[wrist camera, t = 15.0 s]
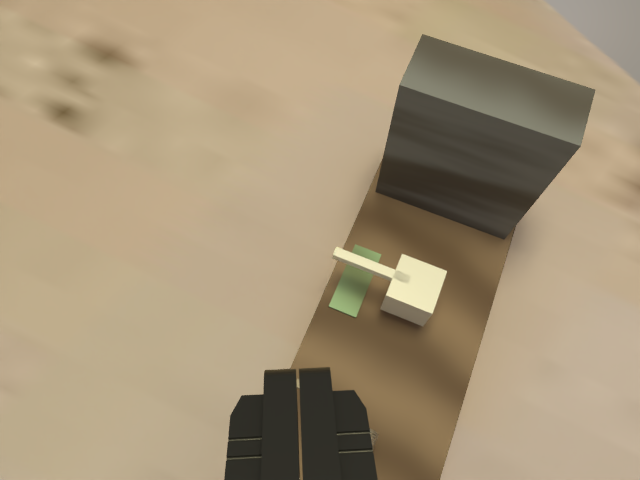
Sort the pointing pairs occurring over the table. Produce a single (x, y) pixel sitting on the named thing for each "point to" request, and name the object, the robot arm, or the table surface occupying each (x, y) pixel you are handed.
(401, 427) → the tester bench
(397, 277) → the cream lever switch
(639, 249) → the table surface
